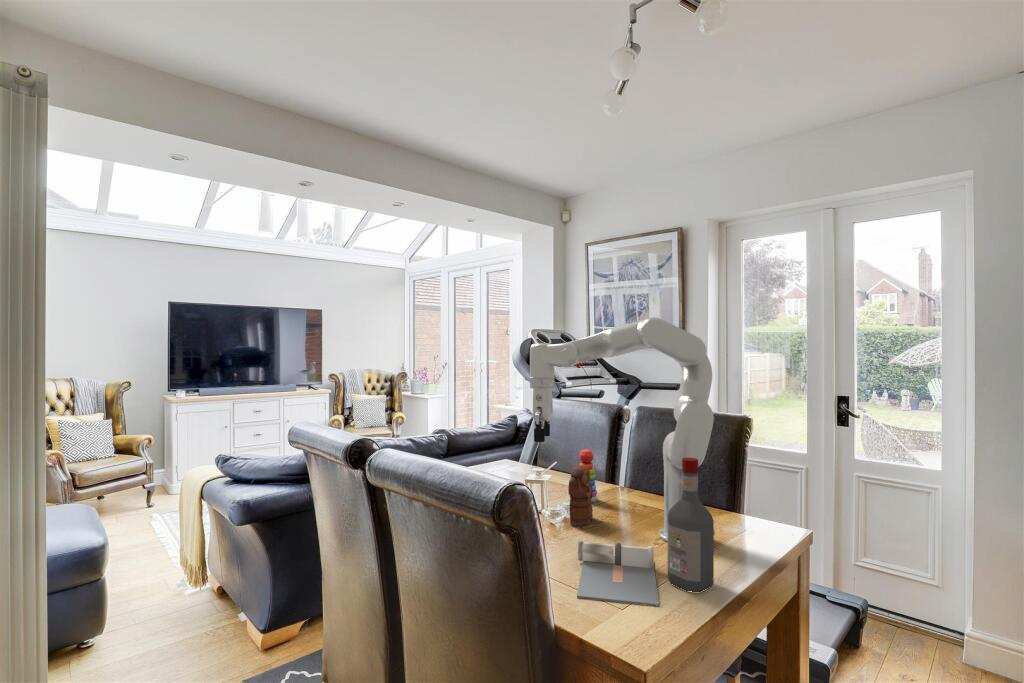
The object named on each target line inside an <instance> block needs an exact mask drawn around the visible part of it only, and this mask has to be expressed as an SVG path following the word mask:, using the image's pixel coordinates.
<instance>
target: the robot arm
mask: <svg viewBox="0 0 1024 683" xmlns="http://www.w3.org/2000/svg"><path fill="white" fill-rule="evenodd" d="M648 348H653V349H654V350H657V351H658V352H660V353H663V354H664V355H666V356H667V357H670V358H672V359H674V361H676V362H677V363H678V365H679V366H680V368H681V380H680V386H679V390H678V394H677V398H676V400H675V405H674V407H673V417H674V419H675V421H676V425H675V430H673V431H671V432H670V433H668V434H667V435H666V436H665V438H664V439H663V440H664V441H663V443H662V458H663V482H664V483H663V527H661V528H660V529H659V530H658V536H659V538H660V539H661V540H663V541H665V542H667V543H668V512H669V510H670V509H671V508H672V507H673V506H674V505H675V504H676V503H677V502H678V501H679V500H680V499H681V495H682V493H683V472H682V458H696V459H698V468H699V467H700V466H701V465H702V463H703V462H704V460H705V457H706V454H707V451H708V446H709V443H710V439H711V435H712V431H713V426H714V420H715V419H714V412H713V409H712V408H711V406H710V405H709V399H710V393H711V389H712V384H713V368H712V364H711V361H710V358H709V356H708V354H707V345H706V344H705V342H704V341H703V339H701V338H700V337H698V336H696V335H694V334H693V333H691V332H689V331H686V330H685V329H683V328H680V327H678V326H677V325H674V324H672V323H671V322H668V321H666V320H665V319H662V318H660V317H656V316H654V317H648V318H646V319H645V318H644V319H642V320H638V321H634V322H631V323H630V322H629V323H627V324H623V325H620V326H616V327H611V328H607V329H605V330H603V331H600V332H597V333H595V334H593V335H589V336H586V337H582V338H579V339H575V340H571V341H568V342H562V343H561V342H560V343H555V344H554V343H553V344H552V343H545V342H544V343H539V342H537V343H532V344H530V348H529V388H530V389H532V390H533V391H532V420H533V421H534V425H533V442H535V443H544V442H545V441H546V439H545V438H546V437H550V435H551V423H550V422H551V420H552V419H553V418H554V409H553V408H554V406H553V401H554V400H553V391H552V389H555V367H559V368H571V367H573V366H575V365H578V364H581V363H585V362H590V361H592V360H599V359H604V358H607V359H608V358H614V357H619V356H621V355H626V354H630V353H634V352H637V351H640V350H644V349H645V350H646V349H648ZM697 475H698V476H699V472H698V473H697ZM715 532H716V530H715V528H714V536H715V535H716V533H715Z"/></svg>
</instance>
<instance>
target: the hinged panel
mask: <svg viewBox="0 0 1024 683" xmlns="http://www.w3.org/2000/svg"><path fill="white" fill-rule="evenodd" d="M613 556H614V544H609V543H600V542H599V543H598V542H587V541H585V542H584V540H578V541H577V561H580V562H583V561H591V562H602V563H613Z"/></svg>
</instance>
